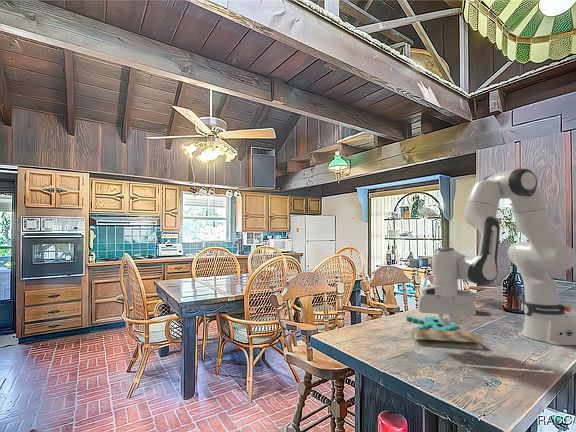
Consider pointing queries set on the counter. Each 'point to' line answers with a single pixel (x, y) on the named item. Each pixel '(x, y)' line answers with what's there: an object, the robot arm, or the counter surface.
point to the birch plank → (448, 338)
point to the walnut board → (442, 332)
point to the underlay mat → (450, 344)
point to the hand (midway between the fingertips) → (446, 325)
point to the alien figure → (432, 324)
